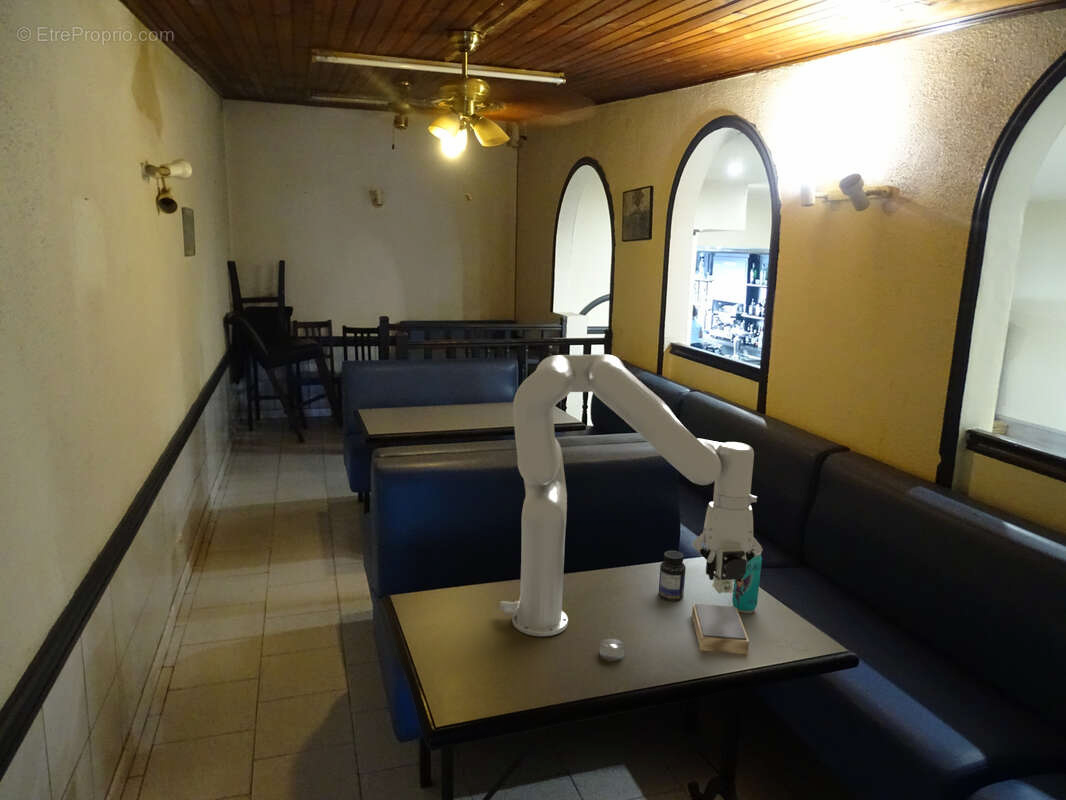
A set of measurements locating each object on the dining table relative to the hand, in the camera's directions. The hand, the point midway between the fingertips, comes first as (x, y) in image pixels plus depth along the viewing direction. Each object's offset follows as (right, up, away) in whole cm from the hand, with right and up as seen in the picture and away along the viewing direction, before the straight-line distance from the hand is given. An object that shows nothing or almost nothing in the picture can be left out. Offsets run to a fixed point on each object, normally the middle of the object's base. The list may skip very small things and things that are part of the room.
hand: (724, 577), depth 161 cm
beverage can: (+9, -11, +15) cm, 21 cm away
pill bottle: (-8, -10, +20) cm, 24 cm away
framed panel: (-1, -13, +3) cm, 14 cm away
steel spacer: (-26, -15, -7) cm, 30 cm away
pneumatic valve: (0, -3, +1) cm, 3 cm away
